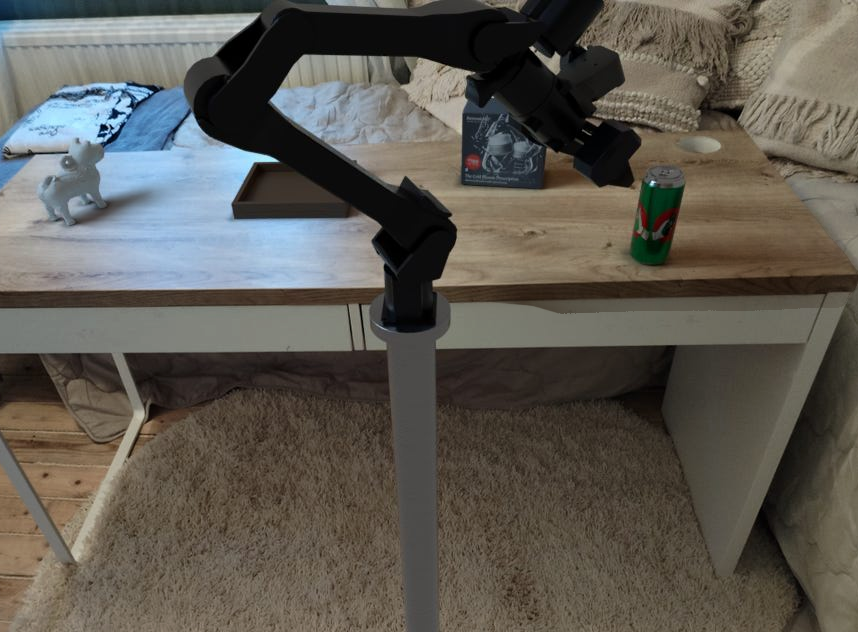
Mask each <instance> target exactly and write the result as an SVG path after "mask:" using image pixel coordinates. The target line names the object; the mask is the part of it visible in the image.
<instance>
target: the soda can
mask: <svg viewBox="0 0 858 632" xmlns="http://www.w3.org/2000/svg"><path fill="white" fill-rule="evenodd" d="M686 181H687V180H686V179H685V172H684V171H683V169H682V168H679V167H677V166H673V165H667V164H657V165H653V166H650V167H649V168H648V169H647V170H646V173H645V175H643V177H642V179H641V184H640V189H639V194H638V195H639V196H638V201H637V207H636V210H635V211H636V212H635V217H634V223H633V229H632V234H631V238H630V245H629V250H628V253H629V255H630V257H631V258H632V259H633V260H634V261H635V262H636V263H638V264H641V265H646V266H656V265H661V264H663V263H664V262H665V261H667V260H668V259H669V258H670V255H671V249H672V246H673V241H674V237H675V232H676V227H677V223H678V219H679V214H680V211H681V206H682V203H683V202H682V200H683V197H684V192H685V187H686V183H687V182H686Z"/></svg>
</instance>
